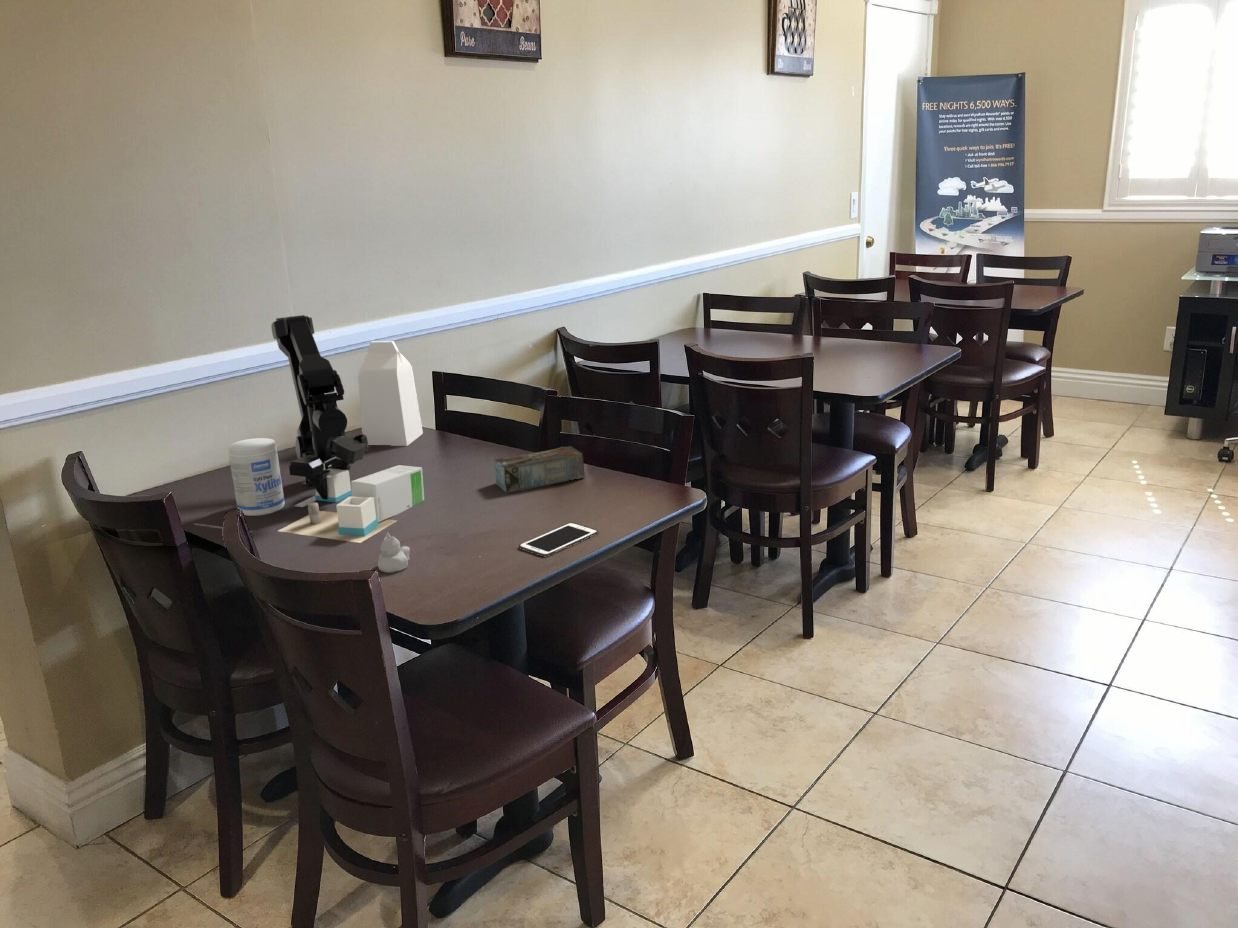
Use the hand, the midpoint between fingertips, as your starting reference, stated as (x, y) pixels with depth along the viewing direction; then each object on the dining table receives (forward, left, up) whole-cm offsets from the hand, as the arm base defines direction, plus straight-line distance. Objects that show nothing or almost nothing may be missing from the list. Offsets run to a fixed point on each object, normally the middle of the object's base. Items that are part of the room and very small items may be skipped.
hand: (334, 494), depth 206 cm
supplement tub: (-12, -9, -2) cm, 15 cm away
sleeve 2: (+18, -15, 0) cm, 23 cm away
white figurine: (+35, -27, -2) cm, 44 cm away
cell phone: (+57, -5, -2) cm, 57 cm away
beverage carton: (+37, +25, -2) cm, 45 cm away
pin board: (+12, -14, -1) cm, 18 cm away
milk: (-16, +44, -2) cm, 47 cm away
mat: (0, 0, -1) cm, 1 cm away
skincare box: (+17, +5, +3) cm, 18 cm away
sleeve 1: (0, 0, -1) cm, 1 cm away
